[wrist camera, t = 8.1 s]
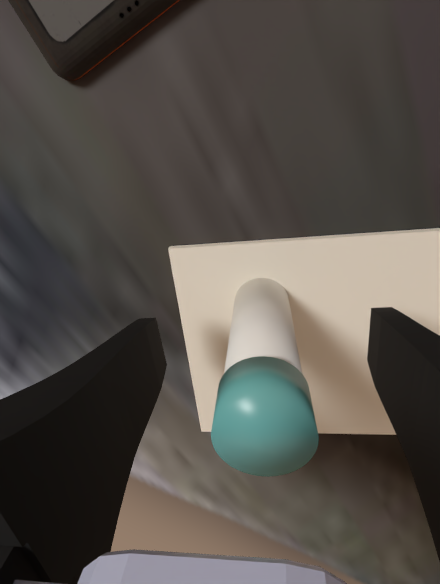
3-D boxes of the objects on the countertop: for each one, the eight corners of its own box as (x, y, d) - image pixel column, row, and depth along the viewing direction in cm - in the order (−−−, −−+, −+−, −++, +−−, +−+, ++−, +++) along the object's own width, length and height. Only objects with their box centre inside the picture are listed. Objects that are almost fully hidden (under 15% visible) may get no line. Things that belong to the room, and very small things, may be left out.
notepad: (568, 219, 12) (576, 221, 11) (497, 431, 16) (501, 437, 16) (170, 246, 14) (168, 249, 14) (202, 426, 18) (201, 432, 18)
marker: (289, 272, 13) (316, 395, 7) (293, 325, 14) (320, 476, 8) (228, 278, 14) (203, 399, 7) (235, 330, 15) (219, 476, 8)
